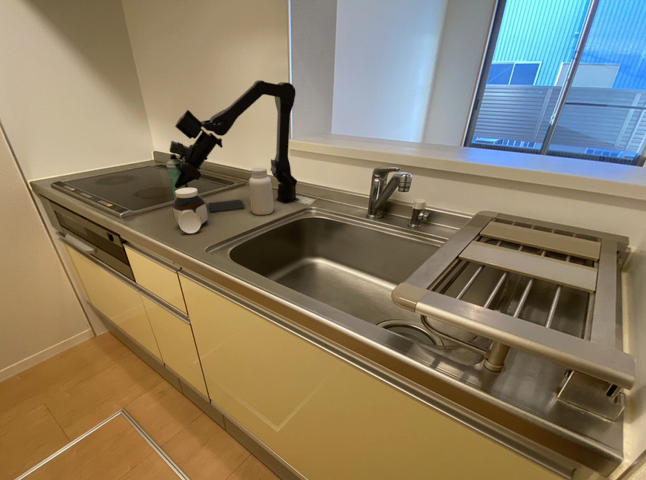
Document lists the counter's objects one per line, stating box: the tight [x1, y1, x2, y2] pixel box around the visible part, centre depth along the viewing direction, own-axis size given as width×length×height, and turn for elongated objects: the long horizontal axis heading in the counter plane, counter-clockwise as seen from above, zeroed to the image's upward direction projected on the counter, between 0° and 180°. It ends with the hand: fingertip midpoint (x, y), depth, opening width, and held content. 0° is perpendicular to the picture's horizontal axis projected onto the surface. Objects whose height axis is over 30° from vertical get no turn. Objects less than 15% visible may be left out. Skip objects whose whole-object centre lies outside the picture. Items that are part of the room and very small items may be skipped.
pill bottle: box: [248, 167, 274, 216], centre depth 121 cm, size 8×8×15 cm
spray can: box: [166, 153, 189, 201], centre depth 120 cm, size 6×6×20 cm
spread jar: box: [172, 187, 208, 234], centre depth 110 cm, size 12×11×12 cm
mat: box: [208, 199, 245, 213], centre depth 130 cm, size 12×10×1 cm
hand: (175, 185), depth 119 cm, fingers closed on spray can, 5 cm apart
